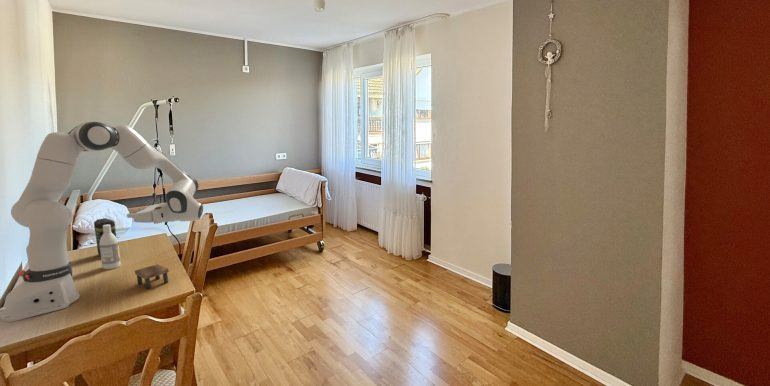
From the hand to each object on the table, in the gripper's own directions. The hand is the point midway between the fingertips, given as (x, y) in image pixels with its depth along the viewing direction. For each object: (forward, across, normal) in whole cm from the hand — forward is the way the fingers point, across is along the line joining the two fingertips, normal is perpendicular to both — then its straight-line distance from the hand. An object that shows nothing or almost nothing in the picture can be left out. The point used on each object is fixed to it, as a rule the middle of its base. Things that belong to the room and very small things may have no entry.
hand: (133, 212), depth 175 cm
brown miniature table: (-16, +22, +25) cm, 37 cm away
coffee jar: (+24, -17, +26) cm, 39 cm away
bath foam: (+12, 0, +26) cm, 28 cm away
